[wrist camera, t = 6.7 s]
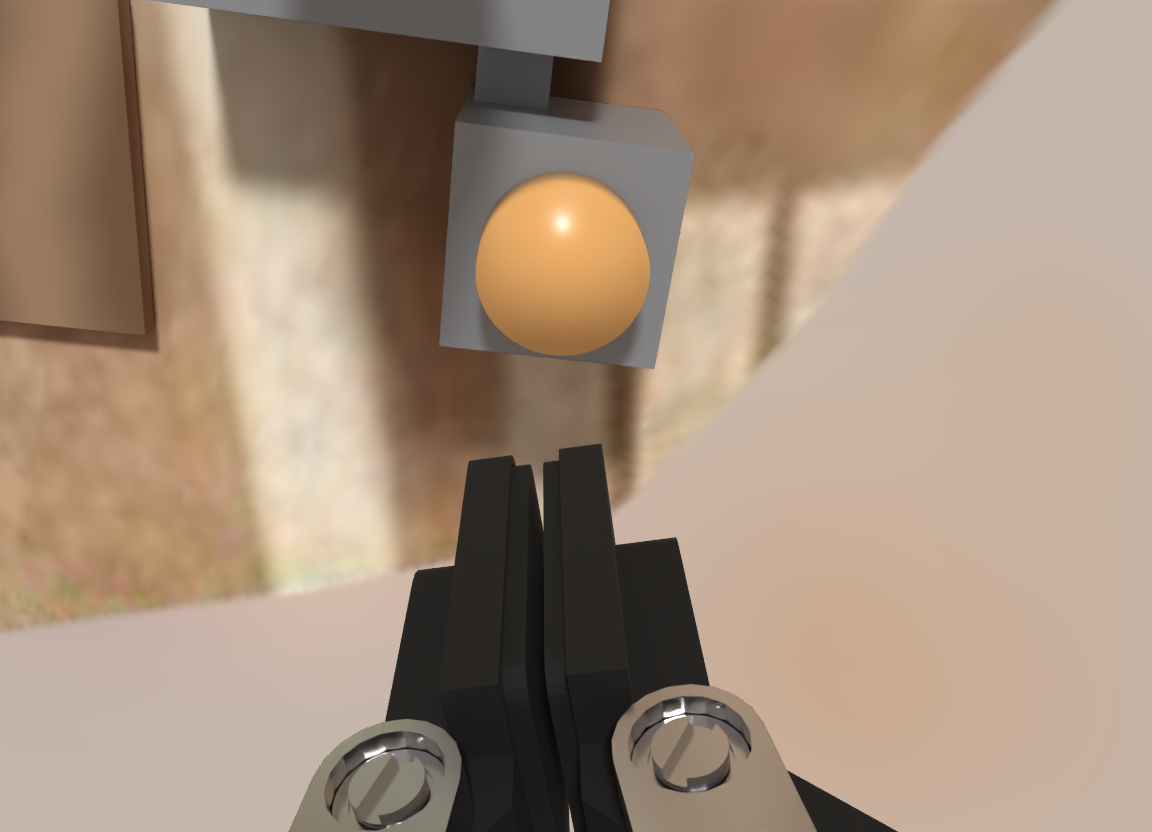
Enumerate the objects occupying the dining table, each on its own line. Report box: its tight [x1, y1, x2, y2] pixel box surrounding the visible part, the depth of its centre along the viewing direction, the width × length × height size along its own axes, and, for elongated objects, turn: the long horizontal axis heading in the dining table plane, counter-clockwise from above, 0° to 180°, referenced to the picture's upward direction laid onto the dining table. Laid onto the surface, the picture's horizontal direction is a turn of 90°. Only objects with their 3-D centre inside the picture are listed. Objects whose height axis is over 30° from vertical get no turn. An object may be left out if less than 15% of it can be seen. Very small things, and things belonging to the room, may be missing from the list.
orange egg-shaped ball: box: [476, 172, 650, 356], centre depth 29 cm, size 5×5×6 cm
